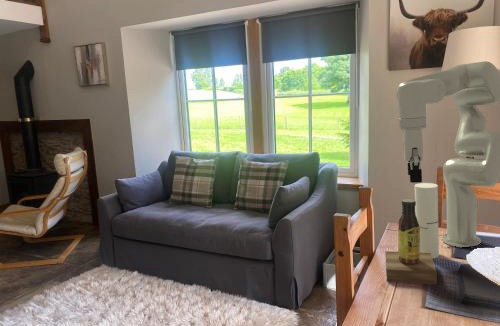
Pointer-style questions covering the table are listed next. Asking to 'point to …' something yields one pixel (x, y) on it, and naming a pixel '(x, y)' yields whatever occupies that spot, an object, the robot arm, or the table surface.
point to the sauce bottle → (408, 234)
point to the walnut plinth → (410, 269)
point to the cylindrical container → (427, 217)
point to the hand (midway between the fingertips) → (414, 178)
